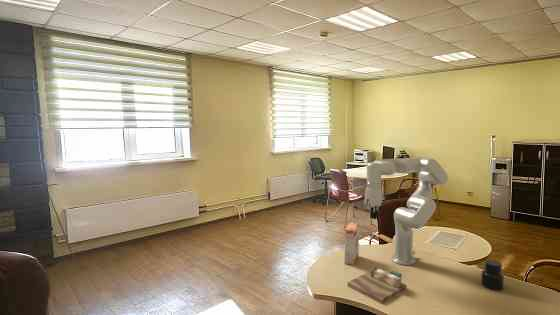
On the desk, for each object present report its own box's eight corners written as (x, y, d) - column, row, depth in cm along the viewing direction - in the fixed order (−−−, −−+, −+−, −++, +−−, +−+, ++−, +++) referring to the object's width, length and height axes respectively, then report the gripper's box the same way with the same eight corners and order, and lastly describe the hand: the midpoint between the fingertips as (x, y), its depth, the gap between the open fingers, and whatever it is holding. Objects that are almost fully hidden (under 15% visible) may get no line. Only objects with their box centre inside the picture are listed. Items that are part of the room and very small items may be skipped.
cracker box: (354, 265, 178) (354, 230, 175) (344, 264, 180) (344, 229, 178) (359, 256, 190) (359, 222, 188) (349, 254, 193) (349, 221, 190)
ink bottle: (500, 283, 155) (501, 260, 154) (507, 292, 147) (508, 268, 145) (478, 280, 158) (479, 257, 157) (483, 289, 150) (484, 265, 149)
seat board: (372, 273, 168) (372, 261, 167) (406, 288, 152) (406, 275, 151) (347, 286, 156) (347, 272, 155) (382, 303, 140) (382, 289, 139)
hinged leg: (369, 275, 161) (369, 268, 160) (373, 273, 163) (373, 266, 162) (397, 287, 149) (397, 280, 148) (401, 285, 151) (401, 277, 150)
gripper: (376, 182, 175) (376, 214, 177) (359, 186, 166) (359, 219, 168) (388, 184, 169) (387, 217, 171) (371, 188, 160) (371, 222, 162)
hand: (373, 218), depth 170 cm, fingers closed
